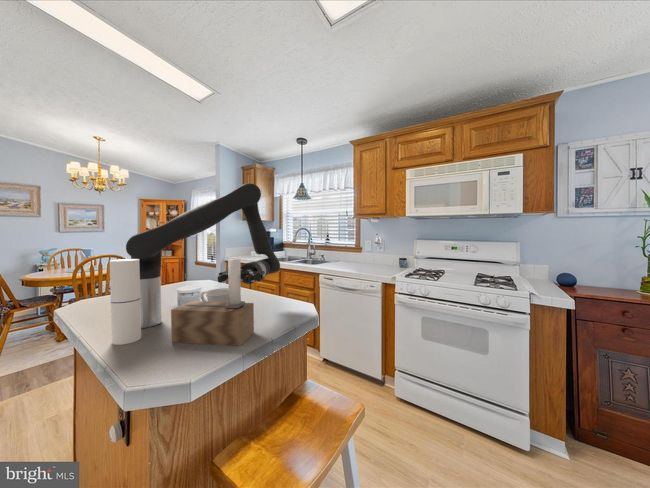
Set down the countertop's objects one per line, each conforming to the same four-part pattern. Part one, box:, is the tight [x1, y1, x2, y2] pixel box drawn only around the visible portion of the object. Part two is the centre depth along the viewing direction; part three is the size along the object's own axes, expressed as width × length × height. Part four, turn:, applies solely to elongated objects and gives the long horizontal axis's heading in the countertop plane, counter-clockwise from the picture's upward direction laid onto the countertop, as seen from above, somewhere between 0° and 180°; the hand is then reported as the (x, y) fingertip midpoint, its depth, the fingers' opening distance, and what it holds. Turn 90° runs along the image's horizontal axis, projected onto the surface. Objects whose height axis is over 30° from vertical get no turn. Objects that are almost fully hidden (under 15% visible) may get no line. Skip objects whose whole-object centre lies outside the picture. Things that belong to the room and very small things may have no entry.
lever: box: [224, 258, 246, 308], centre depth 78 cm, size 4×5×15 cm
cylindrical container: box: [109, 258, 142, 346], centre depth 77 cm, size 7×7×25 cm
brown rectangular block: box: [170, 300, 255, 346], centre depth 80 cm, size 22×10×10 cm, turn 84°
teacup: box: [200, 287, 229, 302], centre depth 101 cm, size 12×15×10 cm
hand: (232, 279), depth 77 cm, fingers open, 8 cm apart
